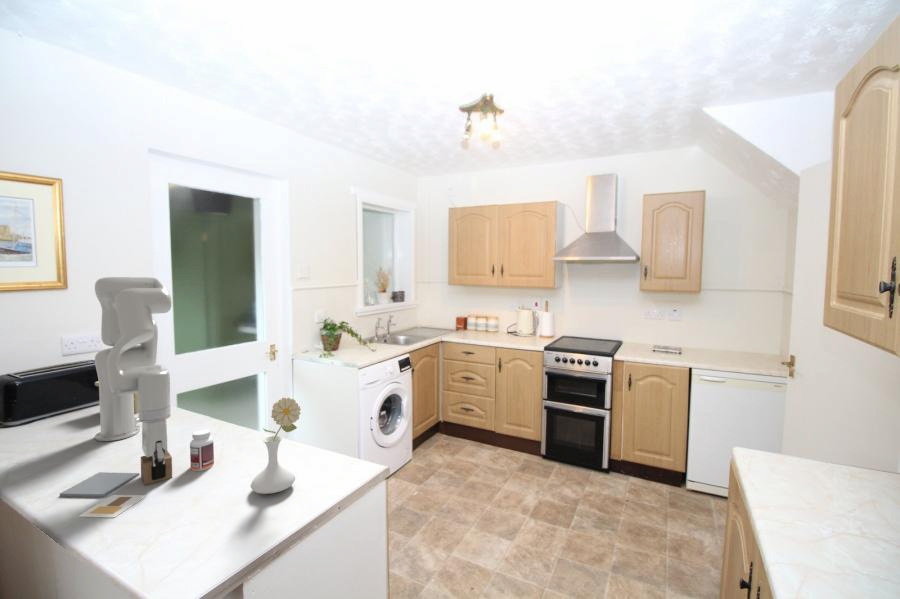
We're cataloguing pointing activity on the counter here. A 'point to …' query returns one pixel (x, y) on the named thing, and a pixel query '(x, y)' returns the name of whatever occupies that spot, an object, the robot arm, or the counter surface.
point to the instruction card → (112, 506)
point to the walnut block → (147, 470)
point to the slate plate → (99, 485)
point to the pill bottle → (201, 450)
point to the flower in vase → (274, 474)
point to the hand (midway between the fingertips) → (156, 473)
